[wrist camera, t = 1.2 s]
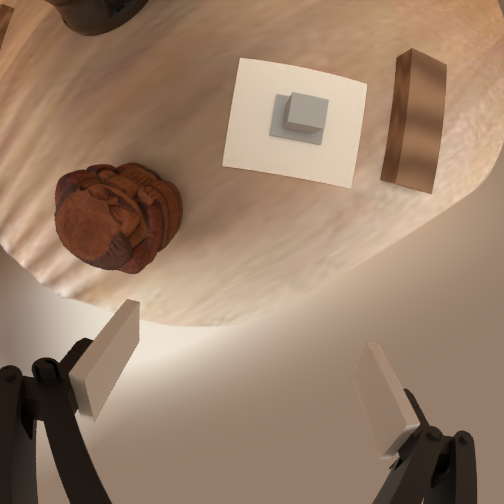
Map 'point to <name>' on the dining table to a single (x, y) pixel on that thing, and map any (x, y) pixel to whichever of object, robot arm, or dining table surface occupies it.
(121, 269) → the wooden figurine
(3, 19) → the wooden tray
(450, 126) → the dining table surface
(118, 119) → the dining table surface
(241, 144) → the fulcrum
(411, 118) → the bar
